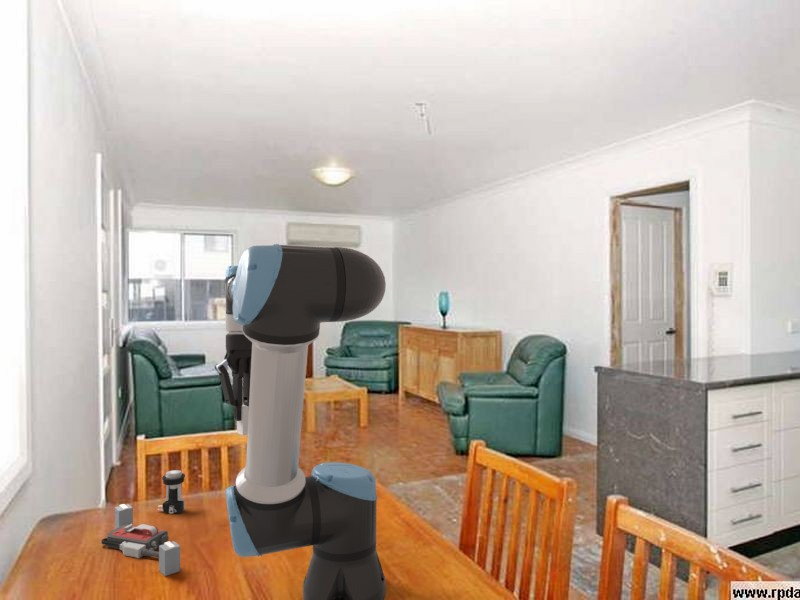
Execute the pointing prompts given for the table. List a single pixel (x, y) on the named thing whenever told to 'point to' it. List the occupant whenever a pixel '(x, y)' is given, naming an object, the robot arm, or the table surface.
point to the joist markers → (167, 551)
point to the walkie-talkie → (136, 540)
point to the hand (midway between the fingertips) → (242, 433)
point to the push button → (173, 492)
